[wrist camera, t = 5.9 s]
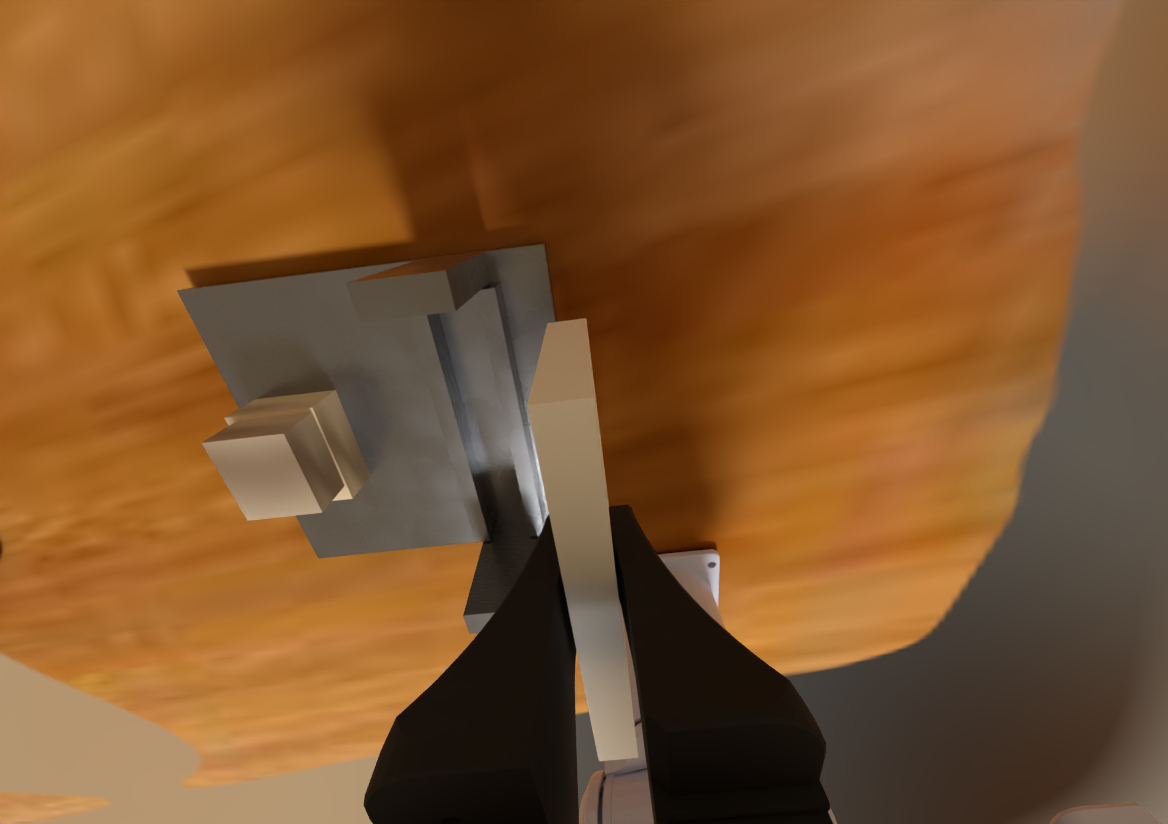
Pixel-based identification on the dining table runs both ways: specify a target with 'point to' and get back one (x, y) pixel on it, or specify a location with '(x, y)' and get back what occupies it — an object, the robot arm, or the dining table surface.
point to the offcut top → (276, 465)
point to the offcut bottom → (330, 425)
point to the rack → (408, 395)
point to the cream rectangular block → (583, 528)
